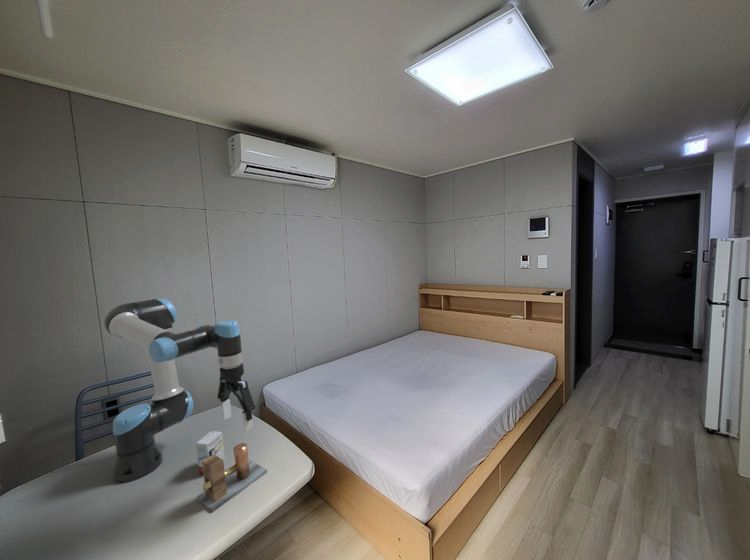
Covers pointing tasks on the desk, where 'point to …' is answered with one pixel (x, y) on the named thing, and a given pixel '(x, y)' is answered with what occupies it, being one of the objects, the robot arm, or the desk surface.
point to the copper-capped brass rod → (237, 464)
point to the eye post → (224, 482)
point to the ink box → (210, 447)
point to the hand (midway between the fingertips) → (237, 423)
